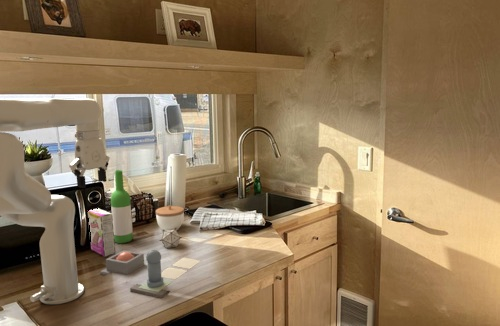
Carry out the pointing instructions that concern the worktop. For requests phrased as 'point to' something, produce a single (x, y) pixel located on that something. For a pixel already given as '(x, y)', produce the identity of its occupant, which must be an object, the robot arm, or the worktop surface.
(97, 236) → the candy bar box
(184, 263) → the track board
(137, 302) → the worktop surface
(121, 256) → the dome button
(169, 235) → the game die
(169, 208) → the lidded bowl
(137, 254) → the button housing
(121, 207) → the wine bottle
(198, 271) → the worktop surface
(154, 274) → the pawn
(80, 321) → the worktop surface
